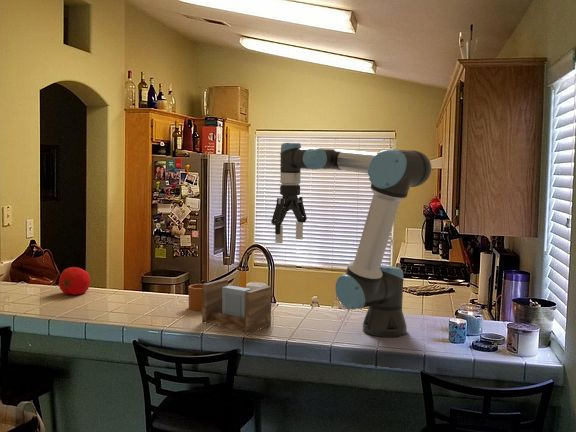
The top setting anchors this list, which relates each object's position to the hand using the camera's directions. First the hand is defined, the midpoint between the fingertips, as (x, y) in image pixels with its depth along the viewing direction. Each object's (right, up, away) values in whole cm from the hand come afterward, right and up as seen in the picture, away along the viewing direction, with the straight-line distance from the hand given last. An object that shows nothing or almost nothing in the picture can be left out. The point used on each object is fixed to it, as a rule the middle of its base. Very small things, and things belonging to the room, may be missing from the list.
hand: (289, 241), depth 220 cm
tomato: (-93, -24, +34) cm, 102 cm away
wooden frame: (-19, -29, -9) cm, 36 cm away
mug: (-34, -27, +12) cm, 45 cm away
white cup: (-13, -28, +12) cm, 33 cm away
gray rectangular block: (-19, -28, -9) cm, 35 cm away
